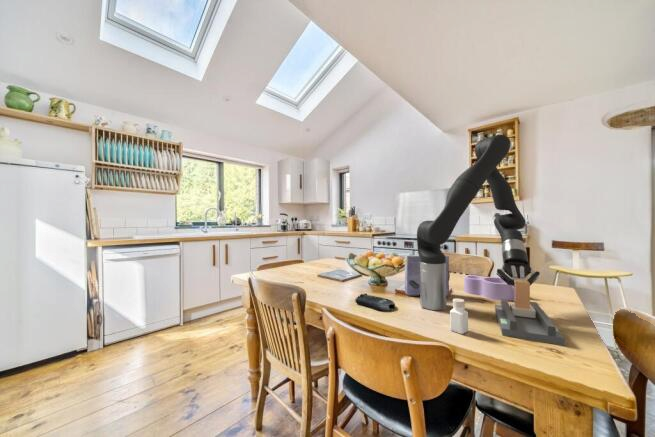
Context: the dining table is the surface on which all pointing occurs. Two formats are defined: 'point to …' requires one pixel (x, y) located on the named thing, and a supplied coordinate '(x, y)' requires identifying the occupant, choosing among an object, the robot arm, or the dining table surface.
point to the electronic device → (375, 302)
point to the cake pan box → (418, 275)
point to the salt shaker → (458, 317)
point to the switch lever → (522, 300)
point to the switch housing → (528, 325)
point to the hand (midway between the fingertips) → (520, 295)
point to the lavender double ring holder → (489, 287)
